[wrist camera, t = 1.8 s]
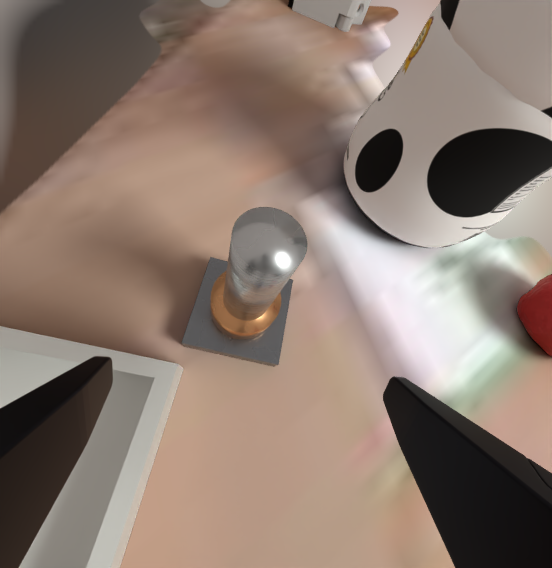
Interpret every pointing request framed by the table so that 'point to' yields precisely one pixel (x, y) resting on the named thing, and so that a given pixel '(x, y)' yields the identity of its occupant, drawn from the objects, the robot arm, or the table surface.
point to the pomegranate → (538, 313)
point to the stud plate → (212, 340)
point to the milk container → (458, 124)
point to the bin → (94, 447)
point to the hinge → (332, 11)
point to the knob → (256, 271)
